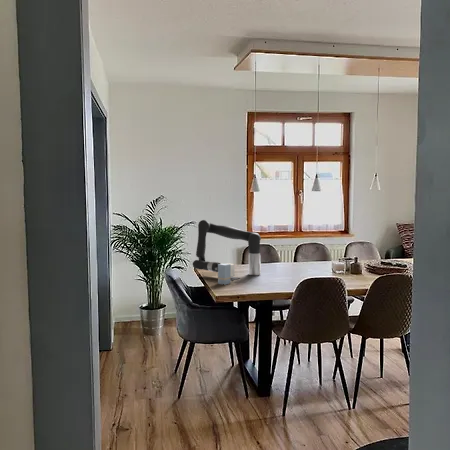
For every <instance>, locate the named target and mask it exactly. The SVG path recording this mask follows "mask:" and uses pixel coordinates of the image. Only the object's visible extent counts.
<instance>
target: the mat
mask: <svg viewBox="0 0 450 450" xmlns="http://www.w3.org/2000/svg"><path fill="white" fill-rule="evenodd" d="M239 279H241V278H240V277H238V276H233V277H231V281H234V280H235V281H236V280H239Z"/></svg>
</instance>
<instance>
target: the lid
mask: <svg viewBox="0 0 450 450" xmlns="http://www.w3.org/2000/svg"><path fill="white" fill-rule="evenodd" d="M227 264H230V271H231V277H236V275H235V274H236V271H235V269H236V267H235V266H236V265H235V264H234V263H227Z"/></svg>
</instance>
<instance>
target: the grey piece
mask: <svg viewBox="0 0 450 450" xmlns="http://www.w3.org/2000/svg"><path fill="white" fill-rule="evenodd" d="M230 264H231V263H229V264H228V263H221V264H218V272H217V284H218V285H223V284H224V285H223V286H225V285H229V283H230V284H231V283H232V282H231V271H230Z"/></svg>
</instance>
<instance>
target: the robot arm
mask: <svg viewBox="0 0 450 450" xmlns="http://www.w3.org/2000/svg"><path fill="white" fill-rule="evenodd" d="M197 226H198V227H197V228H198V231H197V232H198V234H197V235H198V236H197V245H196V253H195V256H196V257H197V258H198V259H195V260H193V262H192V267H193V269H196V270H204V271H209V272H213V273H214V272H215V273H218V264H222V263H221V262H218V261H217V262H216V261H206V257H205V255H206V246H207V245H206V244H207V243H206V238H207V233H209V234H214V235H217V236H220V237H224V238H227V239H231V240H242V241H246V242H247V247H248V275H250V276H260V275H261V273H262V270H261V269H262V266H261V264H262V263H261V239H262V237H261V235H260V234H259V233H258V232H253V231H247V230H243V229H239V228H236V227H233V226H229V225H223V224H222V225H220V224H214V223H211V222H209V221H207V220H206V219H202V220H200V221H199V222H198V224H197Z"/></svg>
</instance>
